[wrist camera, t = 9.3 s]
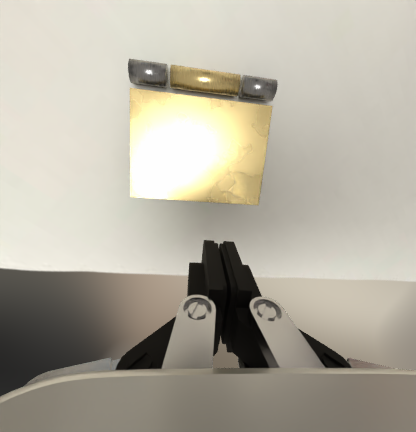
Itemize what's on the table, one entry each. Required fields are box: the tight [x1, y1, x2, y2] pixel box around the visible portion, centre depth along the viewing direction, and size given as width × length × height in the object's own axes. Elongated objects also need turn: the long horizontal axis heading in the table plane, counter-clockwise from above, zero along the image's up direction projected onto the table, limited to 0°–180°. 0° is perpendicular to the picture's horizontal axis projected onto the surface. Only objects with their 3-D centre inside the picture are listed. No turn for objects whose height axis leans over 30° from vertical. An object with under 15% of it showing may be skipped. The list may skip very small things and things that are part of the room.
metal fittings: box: [128, 59, 277, 101], centre depth 21 cm, size 14×12×2 cm
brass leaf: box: [130, 65, 272, 205], centre depth 20 cm, size 14×12×2 cm
